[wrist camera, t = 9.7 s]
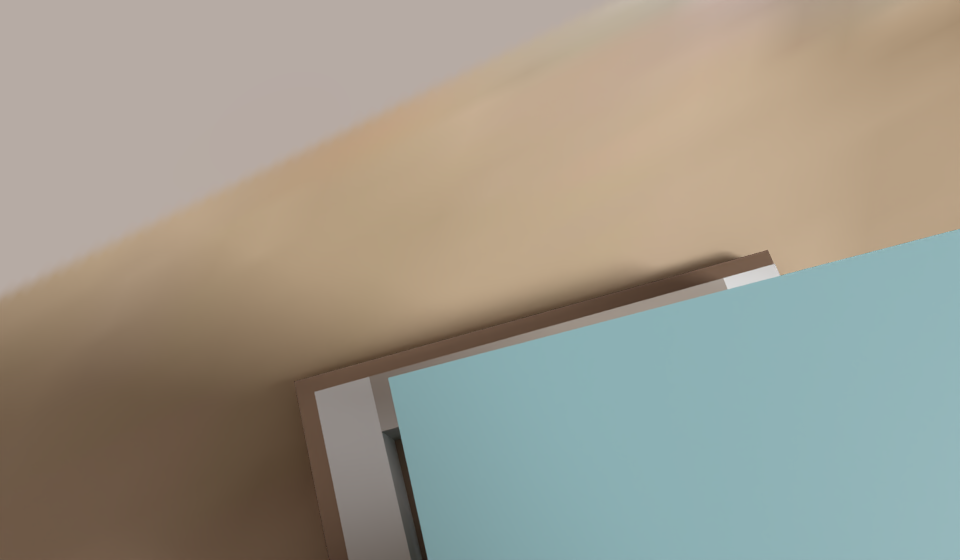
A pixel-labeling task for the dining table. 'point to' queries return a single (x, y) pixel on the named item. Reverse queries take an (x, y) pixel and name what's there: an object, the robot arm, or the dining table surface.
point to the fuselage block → (709, 426)
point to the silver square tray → (374, 427)
